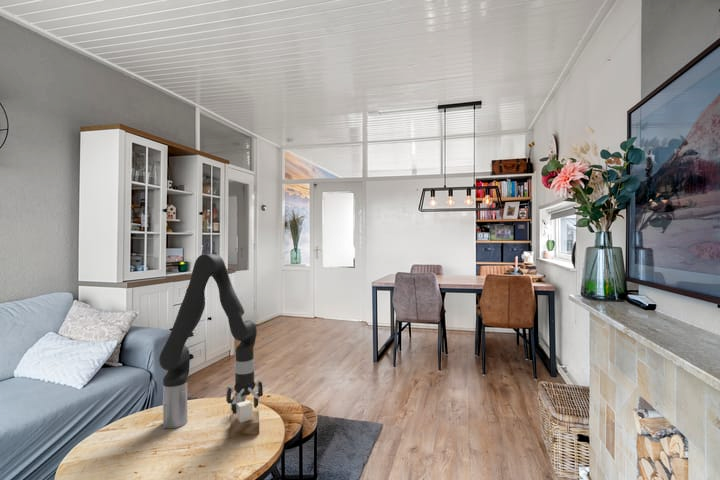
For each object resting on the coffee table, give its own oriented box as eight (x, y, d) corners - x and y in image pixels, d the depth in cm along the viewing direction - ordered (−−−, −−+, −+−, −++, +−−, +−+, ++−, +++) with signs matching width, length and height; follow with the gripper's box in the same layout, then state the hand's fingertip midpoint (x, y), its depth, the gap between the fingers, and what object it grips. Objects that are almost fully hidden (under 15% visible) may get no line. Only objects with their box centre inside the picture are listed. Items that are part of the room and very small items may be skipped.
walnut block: (230, 439, 147) (230, 426, 147) (231, 425, 157) (231, 414, 157) (259, 434, 150) (259, 422, 150) (258, 422, 161) (258, 410, 161)
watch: (249, 409, 172) (249, 385, 172) (243, 417, 164) (243, 392, 164) (237, 409, 172) (237, 385, 172) (231, 417, 164) (230, 392, 164)
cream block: (240, 422, 150) (239, 407, 150) (236, 417, 154) (236, 403, 154) (252, 419, 153) (252, 404, 153) (248, 414, 157) (248, 400, 157)
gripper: (259, 364, 161) (259, 402, 161) (224, 370, 153) (225, 410, 153) (264, 369, 154) (264, 409, 154) (228, 376, 147) (228, 417, 147)
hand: (244, 409), depth 154 cm, fingers open, 8 cm apart
